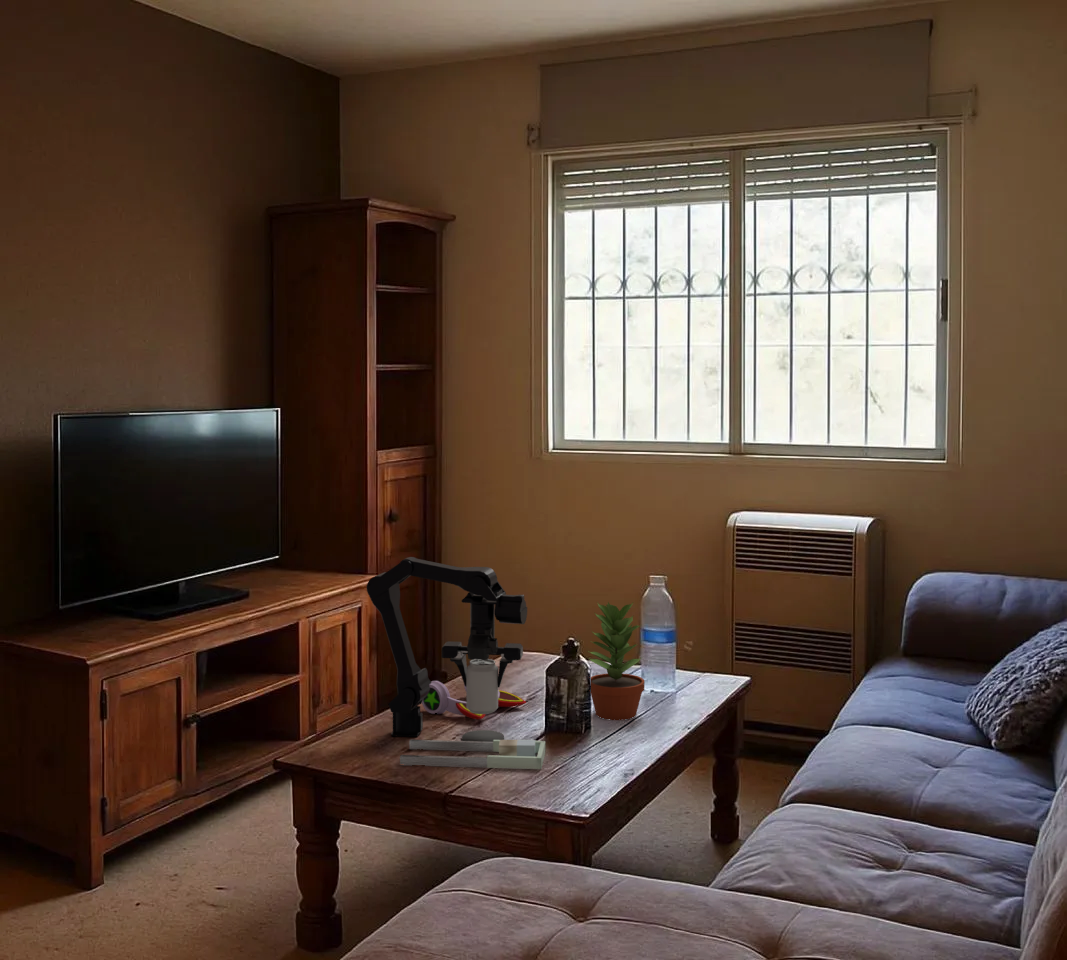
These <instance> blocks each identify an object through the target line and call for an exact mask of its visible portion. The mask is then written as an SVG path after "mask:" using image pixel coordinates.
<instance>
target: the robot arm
mask: <svg viewBox="0 0 1067 960" xmlns="http://www.w3.org/2000/svg"><path fill="white" fill-rule="evenodd" d="M410 577H414V578H415V577H416V578H421V579H425V580H429V581H430V580H431V581H435V582H440V583H446V584H450V585H453V586H457V587H458V588H460V589H462V590H463V591H465V592H467V594H466V595H465V597H463V598H462V599H461V603H463V604H464V603H465V604H469V605H470V607H469V609H470V611H469V612H470V614H469V616H470V617H469V618H470V621H469V622H470V629H469V630H470V631H469V632H470V633H469V637H468V640H467V645H462V641H446V642H445V643H444V644H443V645H442V647H441V652H440V653H441V658H442V659H449V661H450V662H453V663H454V664H455V665H456V667H457V669H458V671H459V673H460V675H461V679H462V681H463V686H464V685H465V686H466V668H467V667H468V666H467V664H468V663H467V659H468V660H469V661H471V660H474V659H481V660H487V659H490V656H500V657H501V658H500V660H499V662H498V663H499V666H498V688H500V687H501V684H502V681H503V678H504V675H505V671H506V669H507V666H508V665H509V664H512V663H513V661H521V659H522V657H523V655H524V646H523V644H521V643H513V642H512V643H511V642H506V643H505V645H504V647H503V646H499V644H498V638H495V634H496V633H495V629H496V628H495V625H496V624H495V619H496V621H498V622H499V623H500V624H512V625H516V624H517V625H525V623H527V616H528V606H527V601H526V600H525V594H507V593H506V591H505V589H504V588H503V586H502V585H501V584H500V582H499V581H498V577H497V573H496V572H495V571H494V569H492V568H491V567H489V566H488V567H487V566H469V567H466V566H465V567H460V566H455V565H449V564H445V563H439V562H434V561H430V560H429V561H428V560H425V559H420V558H417V557H414V556H409V557H406V558H404V559H402V560H401V561H399V563H398V564H396V565H395V566H394V567H392V568H390V569H389V570H387V571H386V572H385V571H384V572H381V573H380V574H377V575H375V576H373V577H371V578H370V579H368V581H367V584H366V593H367V594H368V597H369V598H370V601H371V602H372V605H373V606H374V607H375V608H376V610H377V611H379V614H380V616H381V619H382V622H383V625H384V629H385V632H386V636H387V639H388V642H389V647H390V649H391V652H392V655H393V658H394V662H395V665H396V670H397V674H396V689H397V695H396V696H395V697H394V698H393V699H392V700H391V701H390V702H389V703H388V707H389V710H390V712H391V713H392V732H391V733H390V736H391V735H392V737H408V738H409V737H411V738H412V737H413V738H415V737H419V735H420V733H421V732H422V731H423V730H424V723H423V721H424V720H423V718H424V717H423V712H421V706H419V705H422V700H423V699H424V698H425V697H426V696H427V695H428V693H429V691H430V686H429V685H430V684H431V679H429V675H428V669H427V667H424V668H422V669H421V668H420V666H419V665H418V663H416V659H415V656H414V652H413V648H412V645H411V642H410V639H409V635H408V632H407V628H406V625H405V622H404V618H403V615H402V612H401V608H400V604H401V603H400V601H401V589H400V584H401V583H403V582H404V581H406V580H407V579H408V578H410Z"/></svg>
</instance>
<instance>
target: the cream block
mask: <svg viewBox="0 0 1067 960" xmlns="http://www.w3.org/2000/svg"><path fill="white" fill-rule="evenodd" d="M518 740H519V739H504V740H500V742H499V752H498V756H517V741H518Z"/></svg>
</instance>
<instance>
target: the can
mask: <svg viewBox="0 0 1067 960" xmlns="http://www.w3.org/2000/svg"><path fill="white" fill-rule="evenodd" d="M468 663H469V664H468V666H467V668H466V691H465V692H466V697H465V699H466V701H465V702H466V707H467V709H468V710H470V712H472V713H475V714H487V715H490V714H492V713H494V712H496V711H497V710H496V709H498V708H499V706H498V690H499V687H498V674H499V666H498V665H496V661H495V660H494V659H491V658H488V659H487V660H481V659H474V660H469V662H468ZM495 710H496V711H495ZM489 713H490V714H489Z"/></svg>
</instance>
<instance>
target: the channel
mask: <svg viewBox="0 0 1067 960" xmlns="http://www.w3.org/2000/svg"><path fill="white" fill-rule="evenodd" d="M408 749H409V750H417V749H420V750H421V749H423V750H424V751H452V752H453V751H461V752H462V751H463V752H490V753H491V752H492V753H493V742H484V741H462V740H443V739H436V740H435V739H409V748H408ZM423 750H422V751H423ZM400 764H404V765H403V766H412V765H425V766H424V767H450V768H451V767H453V768H454V767H457V768H481V769H482V768H483V769H485V768H487V756H454V755H453V756H452V755H451V756H449V755H448V756H447V755H442V756H441V755H418V754H415V755H414V754H401V755H400V756H399V765H400Z"/></svg>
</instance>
